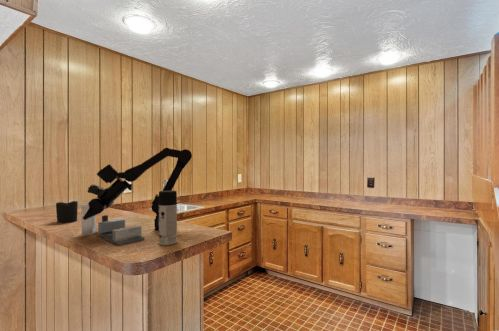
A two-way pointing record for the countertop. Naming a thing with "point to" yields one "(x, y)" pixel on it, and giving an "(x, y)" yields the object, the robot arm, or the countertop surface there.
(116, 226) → the sliding jaw
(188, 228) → the countertop surface
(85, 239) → the countertop surface
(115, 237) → the vise base
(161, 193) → the spray can
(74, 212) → the pen holder
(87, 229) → the steel block
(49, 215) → the countertop surface
